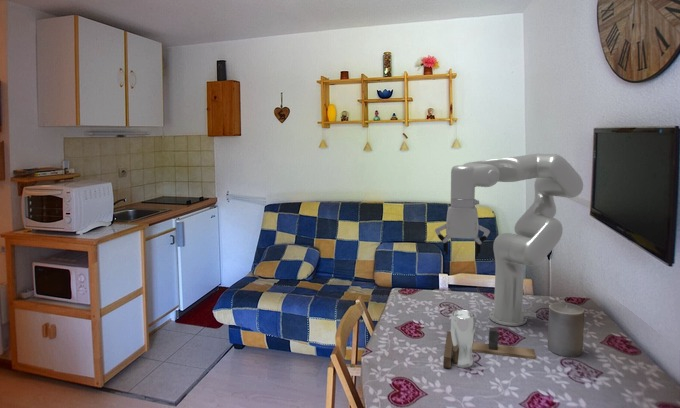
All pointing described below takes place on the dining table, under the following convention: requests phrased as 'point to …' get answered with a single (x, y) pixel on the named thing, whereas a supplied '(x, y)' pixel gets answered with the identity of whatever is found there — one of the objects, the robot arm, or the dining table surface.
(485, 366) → the dining table surface
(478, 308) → the dining table surface
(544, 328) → the dining table surface
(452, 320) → the beer glass
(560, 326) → the pillar candle
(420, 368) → the dining table surface
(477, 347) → the brown wooden bent piece
